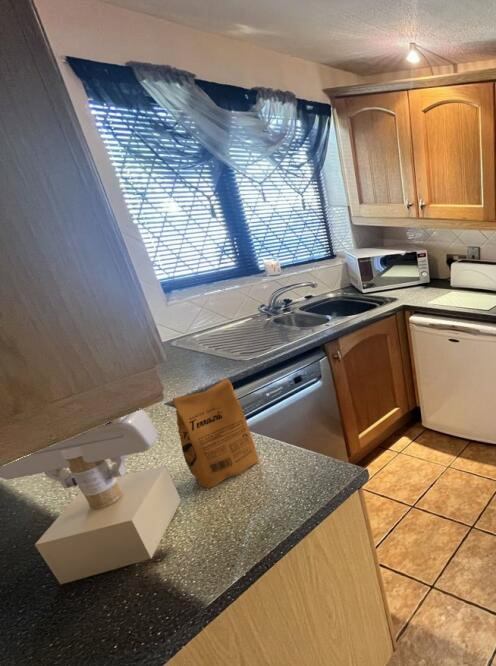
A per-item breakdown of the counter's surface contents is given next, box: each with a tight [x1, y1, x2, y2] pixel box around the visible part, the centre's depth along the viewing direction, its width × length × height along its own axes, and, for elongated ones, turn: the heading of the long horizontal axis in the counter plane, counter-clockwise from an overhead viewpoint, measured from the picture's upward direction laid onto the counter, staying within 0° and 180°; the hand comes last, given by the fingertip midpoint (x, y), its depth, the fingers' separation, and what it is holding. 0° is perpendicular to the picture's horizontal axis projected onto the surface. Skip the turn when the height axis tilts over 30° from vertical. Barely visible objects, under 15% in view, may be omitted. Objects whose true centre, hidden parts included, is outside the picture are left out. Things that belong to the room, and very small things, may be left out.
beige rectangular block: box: [34, 465, 182, 585], centre depth 73 cm, size 15×13×10 cm
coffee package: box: [172, 378, 259, 489], centre depth 88 cm, size 10×12×22 cm
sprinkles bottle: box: [60, 447, 123, 509], centre depth 68 cm, size 5×5×13 cm
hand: (96, 479), depth 69 cm, fingers open, 5 cm apart
